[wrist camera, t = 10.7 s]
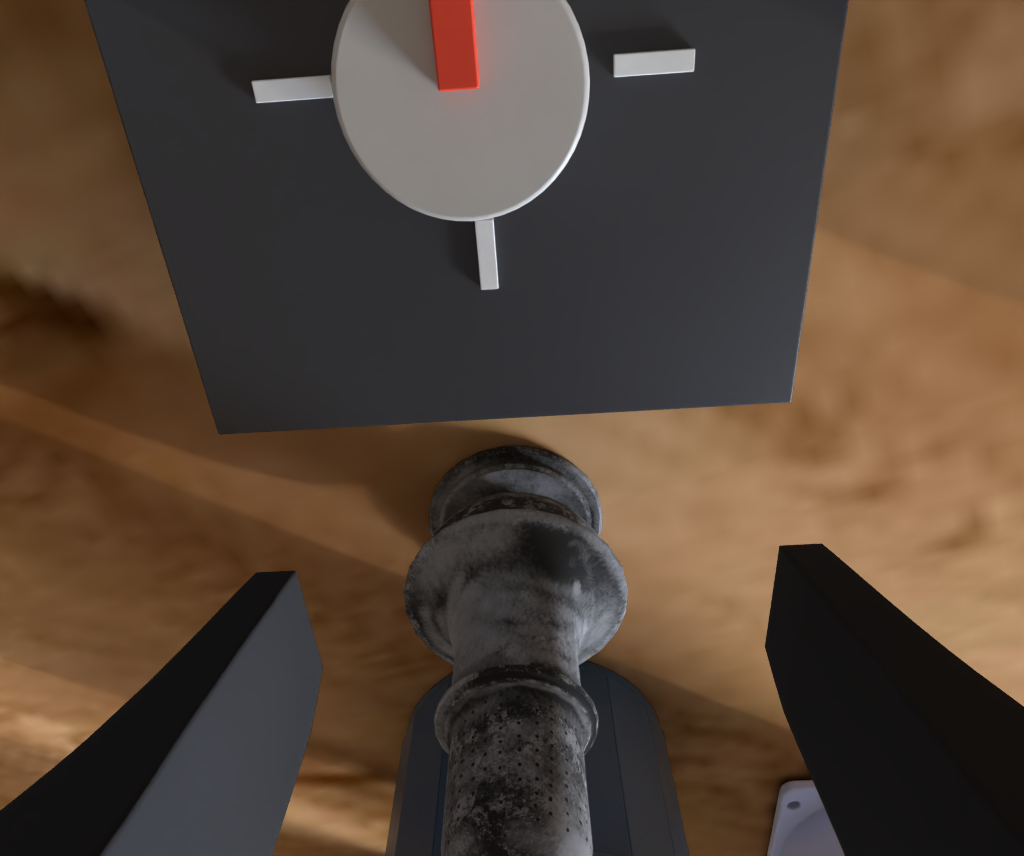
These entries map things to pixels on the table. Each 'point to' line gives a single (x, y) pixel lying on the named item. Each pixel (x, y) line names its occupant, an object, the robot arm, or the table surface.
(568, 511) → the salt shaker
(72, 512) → the table surface
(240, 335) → the console
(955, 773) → the robot arm
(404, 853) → the pot
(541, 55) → the console knob
